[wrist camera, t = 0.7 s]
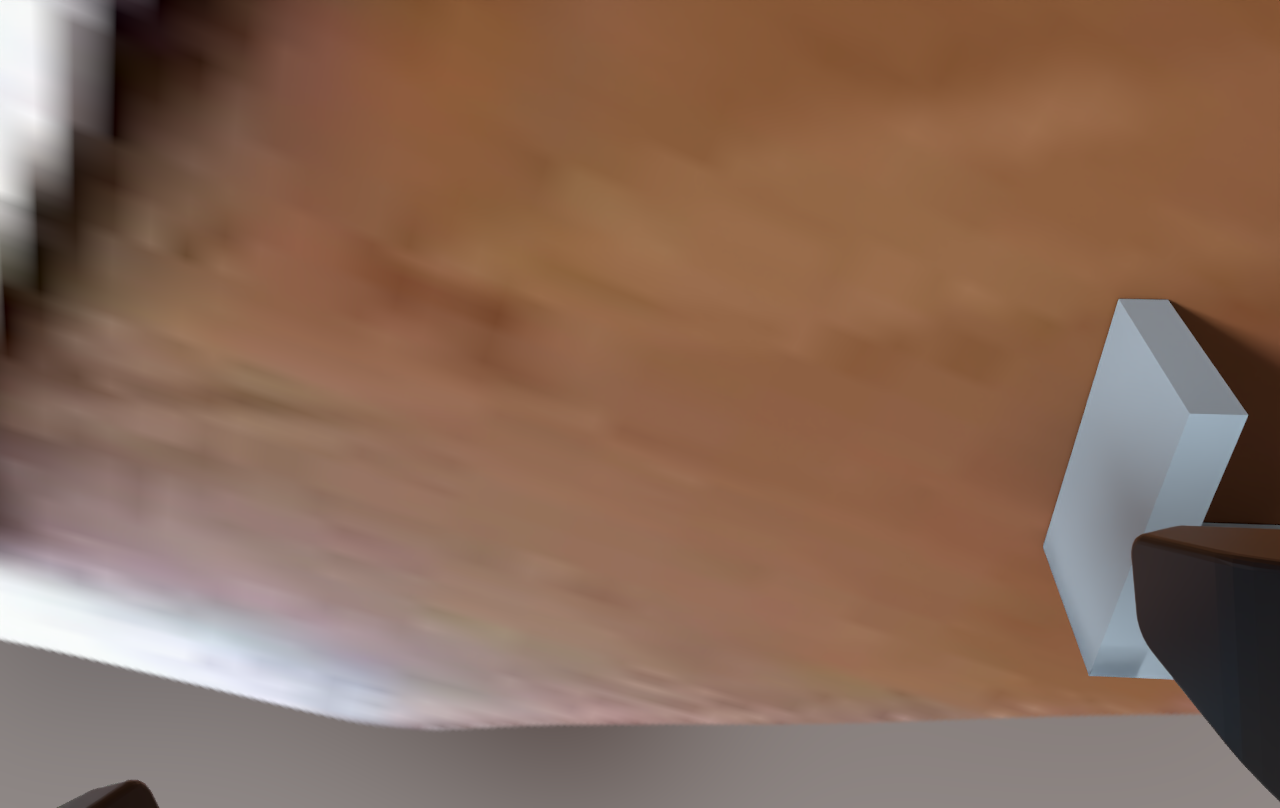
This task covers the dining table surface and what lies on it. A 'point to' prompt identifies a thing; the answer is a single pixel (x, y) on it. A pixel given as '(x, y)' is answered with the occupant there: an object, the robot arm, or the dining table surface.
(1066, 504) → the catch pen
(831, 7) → the dining table surface
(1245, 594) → the robot arm
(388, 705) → the dining table surface
